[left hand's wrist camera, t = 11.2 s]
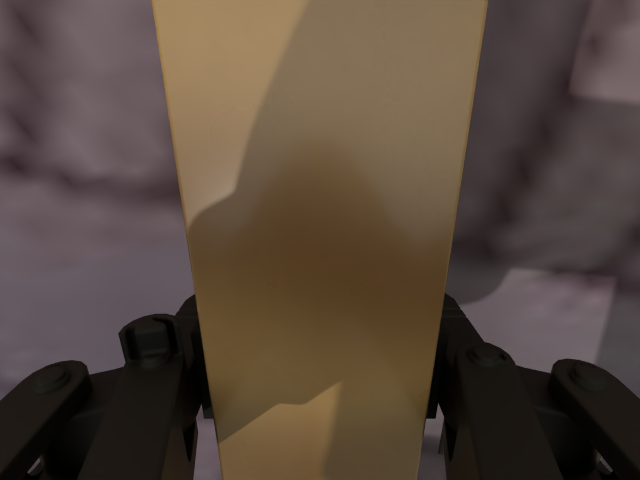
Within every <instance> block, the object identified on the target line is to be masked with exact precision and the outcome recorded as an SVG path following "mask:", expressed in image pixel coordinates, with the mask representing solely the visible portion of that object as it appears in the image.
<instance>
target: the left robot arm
mask: <svg viewBox="0 0 640 480" xmlns="http://www.w3.org/2000/svg"><path fill="white" fill-rule="evenodd" d="M118 334H119V338H120V342H121V346H122V350H123V354H124V358H125V362H126V363H125V365H124V367H121V368H118V369H114V370H109V371H105V372H100V373H95V374H91V375H89V372H88V369H87V366H86V365H85V364H84V363H83V362H80V361H74V360H70V361H62V362H57V363H54V364H51V365H48V366H45V367H44V368H42V369H40V370H38V371H36V372H34V373H32V374H31V375H30V376H28V377H27V378H25V379H24V380H23V381H22V382H20V383H19V384H18V385H17V386H16V387H15V388H14V389H13V390H12V391H11V392H9V393H8V394H7V395H6V396H5V397H4V398H3V399H2V400H1V401H0V480H193V477H194V467H195V457H196V448H197V438H198V428H197V422H196V416H197V414H198V411H199V409H200V406H201V404H202V409H203V415H204V419H214V418H213V411H212V404H211V398H210V391H209V384H208V377H207V371H206V364H205V357H204V350H203V344H202V337H201V330H200V323H199V317H198V310H197V303H196V297H195V294H194V295H193V296H191V297H190V298H188V299H187V300H186V301H185V302H184V304H183V305H182V306H181V308H180V309H179V311H178V312H177V314H176V315H175V316H173V315H169V314H153V315H148V316H144V317H141V318H139V319H136V320H134V321H132V322H130V323H129V324H127V325H126V326H124V327H123V328H122V330H121V331H120V332H119V333H118ZM438 403H439V405H440V408H441V410H442V413H443V415H444V422H443V428H442V434H441V439H440V445H439V452H438V453H439V454H443V450H444V456H445V466H446V476H447V480H640V399H639V398H638V397H637V396H636V395H635V394H634V393H633V392H631V391H630V390H629V389H628V388H627V387H626V386H625V385H624V384H623V383H621V382H620V381H619V380H618V379H617V378H616V377H614V376H613V375H611V374H610V373H609V372H607V371H606V370H604V369H602V368H600V367H598V366H596V365H594V364H591V363H588V362H585V361H581V360H575V359H562V360H558V361H557V362H556V363H554V364H553V367H552V370H551V373H547V372H542V371H537V370H533V369H528V368H524V367H520V366H517V365H515V362H514V361H513V359H512V358H511V356H510V355H509V354H508V353H506V352H505V351H504V350H502V349H501V348H499V347H497V346H495V345H492V344H490V343H486V342H484V341H483V340H482V338H481V337H480V335H479V334H478V333H477V331H476V330H475V328H474V327H473V325H472V324H471V323H470V321H469V320H468V318H466V315H465V314H464V313H463V311H462V310H460V307H459V306H458V304H457V303H456V301H455V300H454V299H453V298H452V297H450V296H449V295H447V294H446V293H445V295H444V301H443V308H442V315H441V321H440V328H439V335H438V342H437V348H436V355H435V362H434V368H433V375H432V382H431V388H430V395H429V402H428V409H427V415H426V419H436V413H437V406H438ZM601 456H602V457H603V459H604V460H605V461H606V462H607V463H608V465H609V466H610V467H611V468H612V470H613V472H612V473H611V472H610V471H609V470H608V469H607V468H606V467H605V466H604V465H603V463H602V462H601V461H600V458H601ZM38 458H39V459H40V462H39V464H38V465H37V466H36V467H35V469H34V470H32V471H31V472H30V473H29V474H28V473H27V472H28V470H29V469H30V468H31V467H32V465H33V464H34V463H35V462H36V460H37V459H38Z"/></svg>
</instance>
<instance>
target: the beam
mask: <svg viewBox="0 0 640 480" xmlns="http://www.w3.org/2000/svg"><path fill="white" fill-rule="evenodd" d="M487 6H488V0H152V7H153V14H154V20H155V27H156V34H157V40H158V47H159V54H160V61H161V67H162V74H163V81H164V88H165V94H166V101H167V108H168V115H169V121H170V128H171V135H172V142H173V148H174V155H175V162H176V168H177V175H178V182H179V189H180V195H181V202H182V209H183V216H184V222H185V229H186V236H187V243H188V249H189V256H190V263H191V270H192V276H193V283H194V290H195V297H196V303H197V310H198V317H199V323H200V330H201V337H202V344H203V350H204V357H205V364H206V371H207V377H208V384H209V391H210V398H211V404H212V411H213V418H214V425H215V431H216V438H217V445H218V452H219V458H220V465H221V472H222V478H223V480H417V476H418V469H419V462H420V456H421V449H422V442H423V435H424V429H425V422H426V415H427V409H428V402H429V395H430V388H431V382H432V375H433V368H434V362H435V355H436V348H437V342H438V335H439V328H440V321H441V315H442V308H443V301H444V295H445V288H446V281H447V274H448V268H449V261H450V254H451V248H452V241H453V234H454V228H455V221H456V214H457V207H458V201H459V194H460V187H461V181H462V174H463V167H464V160H465V154H466V147H467V140H468V134H469V127H470V120H471V114H472V107H473V100H474V93H475V87H476V80H477V73H478V67H479V60H480V53H481V46H482V40H483V33H484V26H485V20H486V13H487Z"/></svg>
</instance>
